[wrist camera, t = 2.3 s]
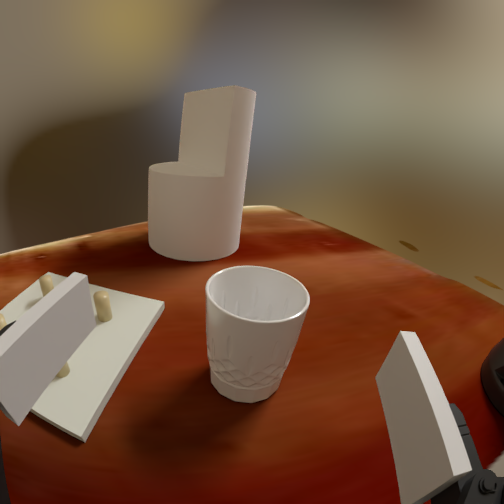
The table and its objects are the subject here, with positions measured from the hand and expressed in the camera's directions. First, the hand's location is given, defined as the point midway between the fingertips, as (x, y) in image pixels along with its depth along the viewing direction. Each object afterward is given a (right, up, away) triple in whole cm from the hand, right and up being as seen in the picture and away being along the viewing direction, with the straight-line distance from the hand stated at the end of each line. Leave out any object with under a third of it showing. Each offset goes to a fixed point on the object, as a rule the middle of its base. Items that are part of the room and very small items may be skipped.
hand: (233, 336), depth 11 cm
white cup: (0, -9, +15) cm, 17 cm away
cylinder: (-10, +5, +43) cm, 45 cm away
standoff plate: (-21, -6, +14) cm, 26 cm away
